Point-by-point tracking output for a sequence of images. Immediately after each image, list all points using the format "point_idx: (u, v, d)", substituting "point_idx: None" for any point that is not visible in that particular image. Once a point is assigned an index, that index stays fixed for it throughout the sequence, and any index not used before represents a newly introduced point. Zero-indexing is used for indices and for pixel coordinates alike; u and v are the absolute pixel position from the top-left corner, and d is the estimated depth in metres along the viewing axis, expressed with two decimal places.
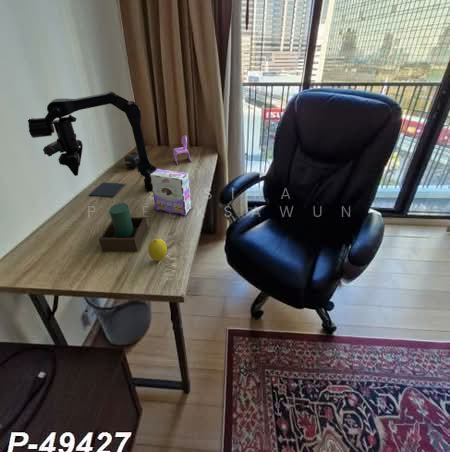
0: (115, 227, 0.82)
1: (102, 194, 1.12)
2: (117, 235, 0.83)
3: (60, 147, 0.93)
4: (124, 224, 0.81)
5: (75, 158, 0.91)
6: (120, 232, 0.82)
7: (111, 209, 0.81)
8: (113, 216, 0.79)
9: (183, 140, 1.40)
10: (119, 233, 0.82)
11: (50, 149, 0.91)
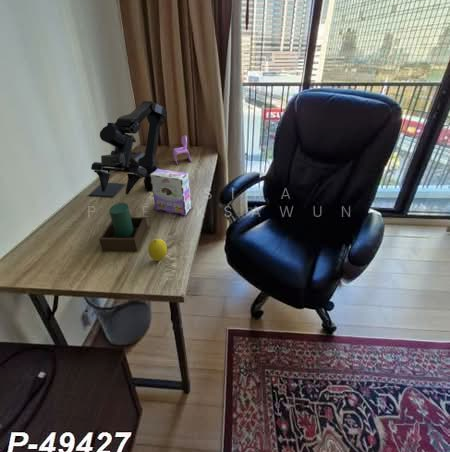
0: (115, 227, 0.82)
1: (102, 194, 1.12)
2: (117, 235, 0.83)
3: None
4: (124, 224, 0.81)
5: (146, 172, 0.91)
6: (120, 232, 0.82)
7: (111, 209, 0.81)
8: (113, 216, 0.79)
9: (183, 140, 1.40)
10: (119, 233, 0.82)
11: (123, 157, 0.84)
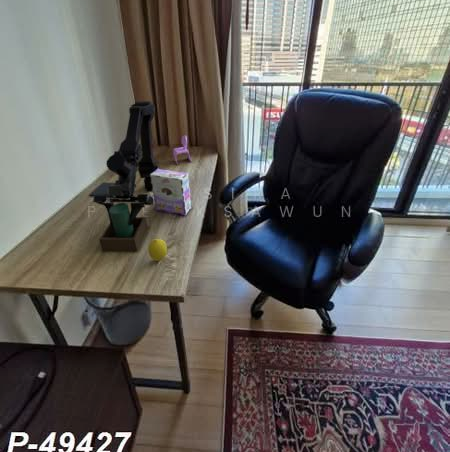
0: (115, 227, 0.82)
1: None
2: (117, 235, 0.83)
3: None
4: (124, 224, 0.81)
5: (153, 200, 0.87)
6: (120, 232, 0.82)
7: (111, 209, 0.81)
8: (113, 216, 0.79)
9: (183, 140, 1.40)
10: (119, 233, 0.82)
11: (131, 186, 0.81)
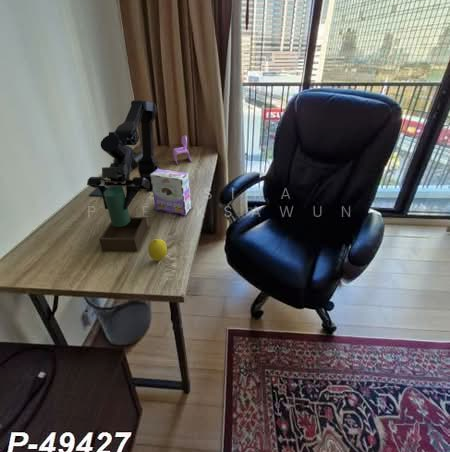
0: (110, 211, 0.79)
1: None
2: (112, 219, 0.80)
3: None
4: (119, 208, 0.79)
5: (149, 184, 0.85)
6: (115, 216, 0.79)
7: (105, 192, 0.78)
8: (107, 199, 0.77)
9: (183, 140, 1.40)
10: (114, 217, 0.80)
11: (126, 169, 0.78)
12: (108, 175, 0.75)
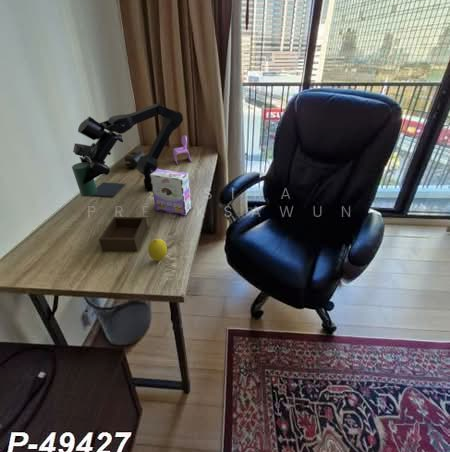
0: None
1: (102, 194, 1.12)
2: None
3: (94, 153, 0.92)
4: (79, 180, 0.93)
5: (108, 171, 0.91)
6: (78, 186, 0.95)
7: (76, 164, 0.94)
8: None
9: (183, 140, 1.40)
10: (78, 186, 0.95)
11: (88, 150, 0.89)
12: (74, 151, 0.90)
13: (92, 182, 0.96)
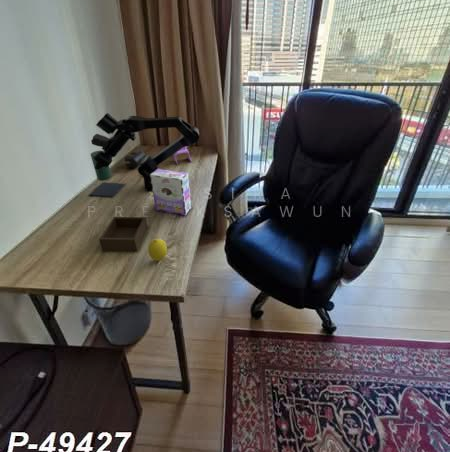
0: None
1: (102, 194, 1.12)
2: None
3: (105, 146, 1.04)
4: None
5: (107, 164, 1.01)
6: None
7: (97, 151, 1.10)
8: None
9: None
10: None
11: (98, 142, 1.01)
12: None
13: (104, 169, 1.09)
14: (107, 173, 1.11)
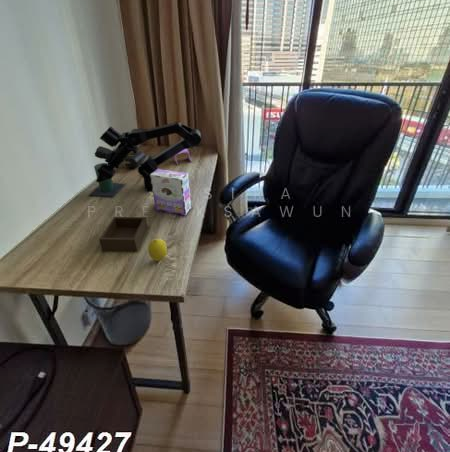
0: None
1: (102, 194, 1.12)
2: None
3: (108, 158, 1.06)
4: (97, 177, 1.11)
5: (110, 176, 1.03)
6: None
7: (101, 163, 1.12)
8: None
9: None
10: None
11: (101, 155, 1.04)
12: None
13: (107, 181, 1.12)
14: (110, 185, 1.14)
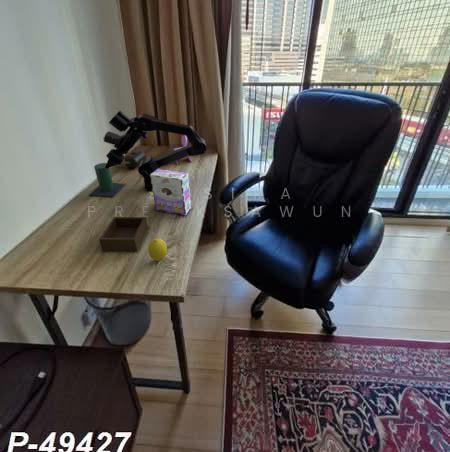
0: None
1: (102, 194, 1.12)
2: None
3: (117, 143, 1.04)
4: (97, 177, 1.11)
5: (119, 161, 1.01)
6: None
7: (101, 163, 1.12)
8: None
9: (183, 140, 1.40)
10: None
11: (110, 140, 1.01)
12: None
13: (107, 181, 1.12)
14: (110, 185, 1.14)
